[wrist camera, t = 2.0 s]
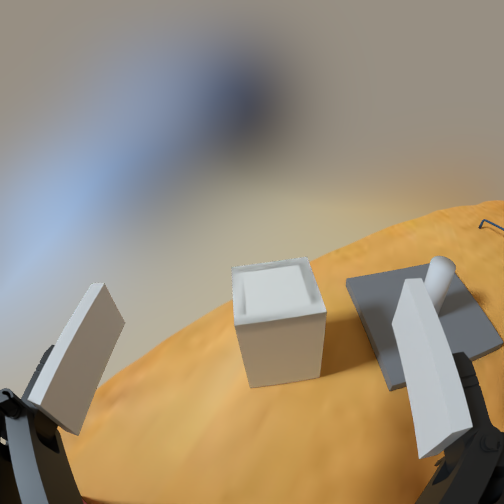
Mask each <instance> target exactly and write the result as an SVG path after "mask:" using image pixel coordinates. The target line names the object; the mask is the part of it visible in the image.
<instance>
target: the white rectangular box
mask: <svg viewBox="0 0 504 504" xmlns="http://www.w3.org/2000/svg"><path fill="white" fill-rule="evenodd" d="M232 288H233V308H234V326H235V330H236V334H237V338H238V342H239V346H240V350H241V354H242V358H243V362H244V366H245V370H246V374H247V378H248V382H249V386H250V388H255V387H263V386H270V385H277V384H284V383H290V382H297V381H302V380H308V379H314V378H319V377H320V370H321V362H322V353H323V344H324V335H325V325H326V314H327V311H326V308H325V305H324V302H323V300H322V297H321V294H320V291H319V288H318V285H317V283H316V280H315V277H314V274H313V272H312V269H311V266H310V264H309V261H308V258H307V257H301V258H294V259H287V260H280V261H273V262H266V263H259V264H252V265H244V266H237V267H232Z"/></svg>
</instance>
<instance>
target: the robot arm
mask: <svg viewBox="0 0 504 504" xmlns="http://www.w3.org/2000/svg"><path fill="white" fill-rule="evenodd" d="M124 324H125V322H124V320H123V318H122V316H121V314H120V312H119V311H118V309H117V307H116V305H115V303H114V301H113V299H112V297H111V295H110V293H109V291H108V289H107V287H106V285H105V283H92V284H91V286H90V287H89V289H88V291H87V292H86V294H85V295H84V297H83V299H82V300H81V302H80V303H79V305H78V306H77V308H76V310H75V311H74V313H73V315H72V316H71V318H70V320H69V322H68V323H67V325H66V327H65V328H64V330H63V332H62V334H61V336H60V337H59V339H58V341H57V343H56V344H55V345H52V346H51V347H50V348H49V349H48V350H47V351H46V352H45V353H44V355H43V357H42V359H41V360H40V364H39V365H38V366H37V368H36V371H35V372H34V374H33V376H32V378H31V380H30V382H29V384H28V386H27V388H26V390H25V392H24V394H23V396H22V398H21V399H20V398H18V397H17V396H16V395H15V394H14V393H13V392H12V391H11V390H10V389H7V388H4V389H2V390H0V437H2V438H3V439H5V440H6V444H5V445H4V444H2V443H1V442H0V504H84V503H83V500H82V498H81V495H80V493H79V490H78V488H77V485H76V482H75V480H74V477H73V474H72V471H71V468H70V465H69V462H68V459H67V456H66V453H65V449H64V446H63V443H62V439H61V435H60V433H59V431H58V430H57V427H58V426H60V427H61V428H62V429H64V430H65V431H67V432H69V433H72V434H75V435H77V436H79V433H80V431H81V428H82V425H83V422H84V420H85V417H86V414H87V412H88V409H89V407H90V404H91V401H92V399H93V396H94V394H95V391H96V389H97V386H98V384H99V381H100V379H101V377H102V374H103V372H104V370H105V367H106V365H107V363H108V360H109V358H110V356H111V353H112V351H113V349H114V347H115V344H116V342H117V340H118V338H119V336H120V333H121V331H122V329H123V327H124ZM392 327H393V330H394V334H395V338H396V342H397V346H398V350H399V354H400V358H401V362H402V366H403V371H404V375H405V380H406V384H407V389H408V394H409V399H410V405H411V410H412V416H413V421H414V427H415V434H416V440H417V447H418V455H419V459H422V458H426V457H430V456H435V455H438V454H439V453H440V452H442V451H443V450H444V453H445V456H444V457H443V458H441V459H440V460H438V461H437V462H436V464H435V466H438V465H439V464H440V465H439V467H438V468H437V470H436V472H435V473H434V475H433V477H432V478H431V480H430V481H429V483H428V485H427V486H426V488H425V489H424V491H423V492H422V494H421V495H420V497H419V498H418V500H417V501H416V502H415V504H504V432H500V430H499V429H497V428H496V427H494V426H493V425H492V423H491V421H490V419H489V415H488V412H487V408H486V405H485V401H484V398H483V394H482V391H481V388H480V386H479V382H478V379H477V376H476V373H475V370H474V367H473V364H472V361H471V360H470V359H469V358H468V356H467V355H466V354H465V353H464V352H458V353H453V354H452V353H451V350H450V347H449V344H448V342H447V339H446V336H445V334H444V331H443V328H442V326H441V323H440V321H439V318H438V315H437V313H436V311H435V308H434V306H433V303H432V301H431V299H430V296H429V294H428V292H427V289H426V287H425V285H424V283H423V280H422V278H414V279H405V282H404V285H403V289H402V292H401V296H400V299H399V302H398V306H397V309H396V312H395V315H394V318H393V321H392Z"/></svg>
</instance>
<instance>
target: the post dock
mask: <svg viewBox="0 0 504 504" xmlns="http://www.w3.org/2000/svg"><path fill="white" fill-rule="evenodd" d="M455 270H456V266H455V264H454V263H453V262H452V261H451V260H450V259H448V258H446V257H443V256H435V257H433V258H432V259H431V262H430V263H429V264H424V265H419V266H414V267H409V268H403V269H398V270H393V271H387V272H382V273H376V274H371V275H365V276H360V277H354V278H348V279H346V287H347V289H348V292H349V294H350V296H351V298H352V301H353V303H354V305H355V307H356V310H357V312H358V314H359V317H360V319H361V321H362V324H363V326H364V328H365V331H366V333H367V336H368V338H369V340H370V343H371V345H372V348H373V350H374V353H375V355H376V358H377V360H378V363H379V365H380V368H381V370H382V373H383V376H384V378H385V381H386V383H387V386H388V389H389V391H392V390H396V389H399V388H402V387H405V386H407V384H406V380H405V375H404V371H403V366H402V362H401V358H400V354H399V350H398V346H397V342H396V338H395V334H394V330H393V327H392V321H393V318H394V315H395V312H396V309H397V306H398V302H399V299H400V296H401V292H402V289H403V285H404V282H405V279H414V278H422V280H423V283H424V285H425V287H426V289H427V292H428V294H429V296H430V299H431V301H432V303H433V306H434V308H435V311H436V313H437V315H438V318H439V321H440V323H441V326H442V328H443V331H444V334H445V336H446V339H447V342H448V344H449V347H450V350H451V353H452V354H453V353H458V352H464V353H465V354H466V355H467V356H468V358H469V359H470V360H471V361H474V360H476V359H478V358H481V357H483V356H485V355H487V354H489V353H491V352H493V351H495V350H497V349H499V348H500V347H501V345H502V344H503V341H502V339H501V338H500V336H499V334H498V333H497V331H496V330H495V328H494V327H493V325H492V324H491V322H490V321H489V319H488V318H487V316H486V315H485V313H484V312H483V310H482V309H481V307H480V306H479V305H478V303H477V302H476V300H475V299H474V298H473V296H472V295H471V293H470V292H469V291H468V289H467V288H466V287H465V285H464V284H463V283H462V281H461V280H460V279H459V278H458V276H457V275H456V274H455Z"/></svg>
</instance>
